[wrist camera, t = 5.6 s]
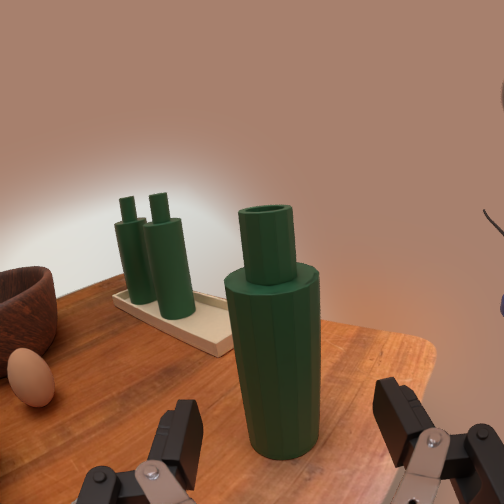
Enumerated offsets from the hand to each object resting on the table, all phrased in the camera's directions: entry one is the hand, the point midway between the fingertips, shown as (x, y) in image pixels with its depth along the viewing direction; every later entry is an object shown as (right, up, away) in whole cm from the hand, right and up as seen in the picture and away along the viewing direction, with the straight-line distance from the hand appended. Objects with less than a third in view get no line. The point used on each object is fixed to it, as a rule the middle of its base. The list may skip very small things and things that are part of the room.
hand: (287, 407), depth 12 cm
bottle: (+1, -8, +10) cm, 13 cm away
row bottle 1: (-20, -2, +41) cm, 46 cm away
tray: (-13, -3, +35) cm, 37 cm away
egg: (-25, -10, +13) cm, 30 cm away
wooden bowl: (-41, -9, +24) cm, 48 cm away
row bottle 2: (-13, -2, +34) cm, 37 cm away
